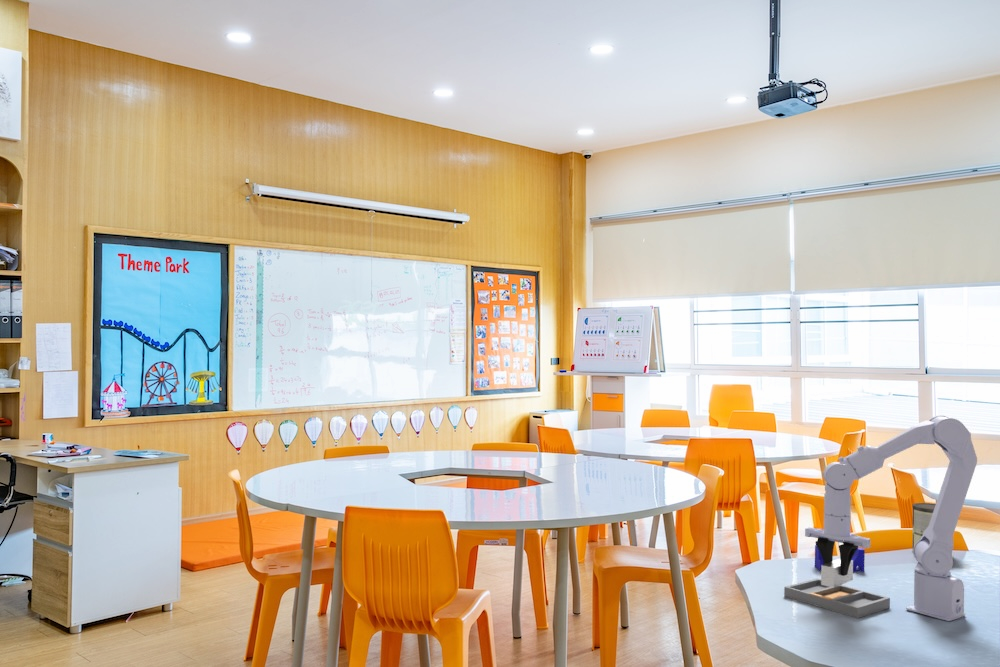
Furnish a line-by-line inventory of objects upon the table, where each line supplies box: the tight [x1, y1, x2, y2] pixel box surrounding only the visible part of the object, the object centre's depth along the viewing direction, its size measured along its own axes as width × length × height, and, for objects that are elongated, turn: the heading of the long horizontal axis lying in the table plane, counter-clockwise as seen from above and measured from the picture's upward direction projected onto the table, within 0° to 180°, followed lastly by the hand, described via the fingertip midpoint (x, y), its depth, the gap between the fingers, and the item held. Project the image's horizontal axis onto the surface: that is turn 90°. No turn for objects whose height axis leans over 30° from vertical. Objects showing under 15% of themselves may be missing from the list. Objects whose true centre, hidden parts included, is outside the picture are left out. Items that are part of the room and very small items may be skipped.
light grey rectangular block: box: [820, 557, 854, 588], centre depth 184 cm, size 3×10×4 cm, turn 133°
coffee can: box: [911, 502, 936, 553], centre depth 233 cm, size 10×10×14 cm
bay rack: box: [783, 578, 891, 619], centre depth 183 cm, size 18×14×2 cm
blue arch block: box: [814, 544, 866, 572], centre depth 212 cm, size 12×4×6 cm, turn 85°
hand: (836, 573), depth 184 cm, fingers closed on light grey rectangular block, 3 cm apart
